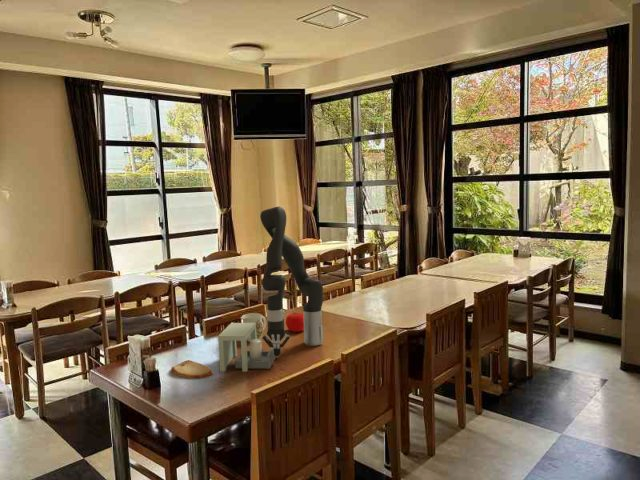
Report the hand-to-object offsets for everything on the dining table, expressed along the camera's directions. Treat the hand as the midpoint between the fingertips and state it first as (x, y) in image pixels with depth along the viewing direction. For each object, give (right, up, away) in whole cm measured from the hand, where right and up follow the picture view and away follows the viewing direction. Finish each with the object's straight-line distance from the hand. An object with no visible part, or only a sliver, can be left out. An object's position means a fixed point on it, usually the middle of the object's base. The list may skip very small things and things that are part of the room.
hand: (277, 355), depth 218 cm
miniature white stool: (-18, -4, +2) cm, 18 cm away
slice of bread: (-37, -6, -6) cm, 38 cm away
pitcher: (-15, 0, +36) cm, 39 cm away
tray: (-10, -3, +1) cm, 10 cm away
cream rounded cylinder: (-10, -2, +1) cm, 10 cm away
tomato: (+6, +2, +49) cm, 49 cm away
